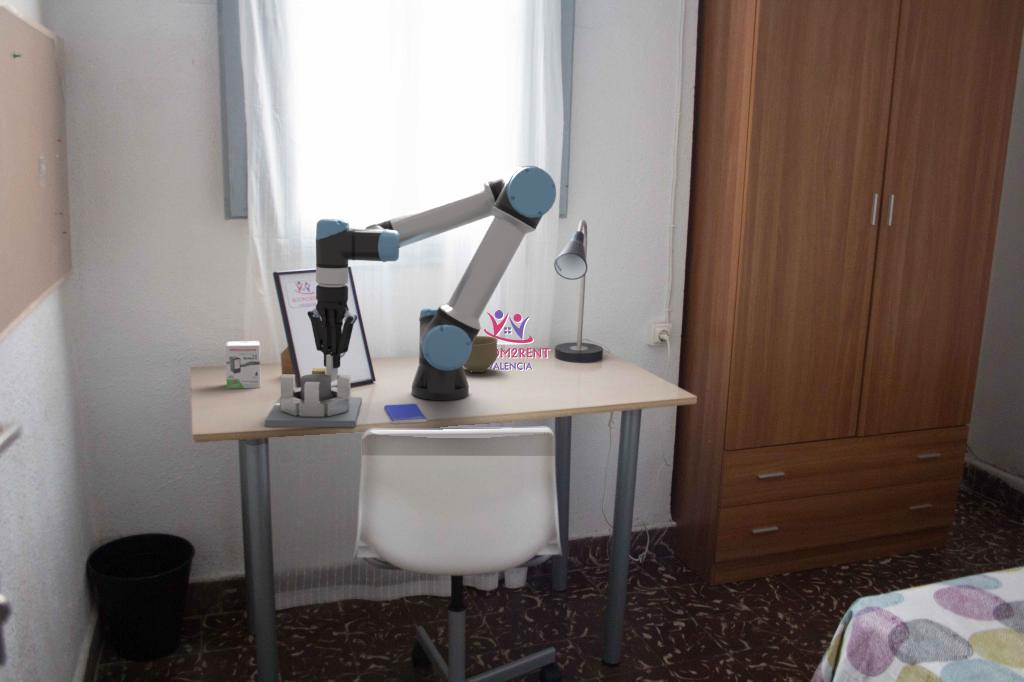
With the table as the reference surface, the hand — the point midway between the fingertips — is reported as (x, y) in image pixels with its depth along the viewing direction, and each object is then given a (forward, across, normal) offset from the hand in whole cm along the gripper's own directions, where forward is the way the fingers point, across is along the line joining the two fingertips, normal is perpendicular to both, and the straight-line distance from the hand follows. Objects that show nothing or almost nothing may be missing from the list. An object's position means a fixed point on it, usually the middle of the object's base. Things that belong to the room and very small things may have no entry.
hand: (332, 380), depth 200 cm
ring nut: (+5, 0, +6) cm, 8 cm away
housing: (+7, 0, +6) cm, 9 cm away
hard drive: (+8, -18, -4) cm, 20 cm away
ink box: (+7, +32, -5) cm, 33 cm away
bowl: (+7, -14, -53) cm, 55 cm away
